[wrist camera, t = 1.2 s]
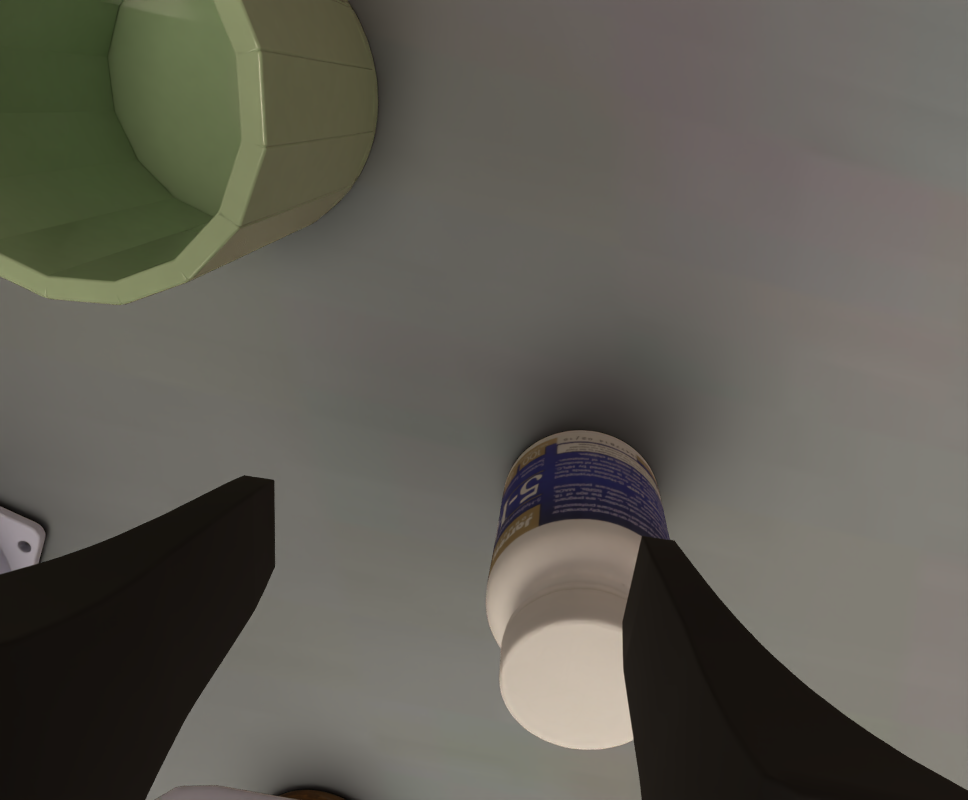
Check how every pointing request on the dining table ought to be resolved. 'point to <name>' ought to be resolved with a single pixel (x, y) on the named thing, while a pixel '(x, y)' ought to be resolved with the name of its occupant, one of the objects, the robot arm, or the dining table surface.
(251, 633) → the dining table surface
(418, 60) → the dining table surface
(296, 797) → the utensil holder
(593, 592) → the pill bottle
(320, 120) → the mug
